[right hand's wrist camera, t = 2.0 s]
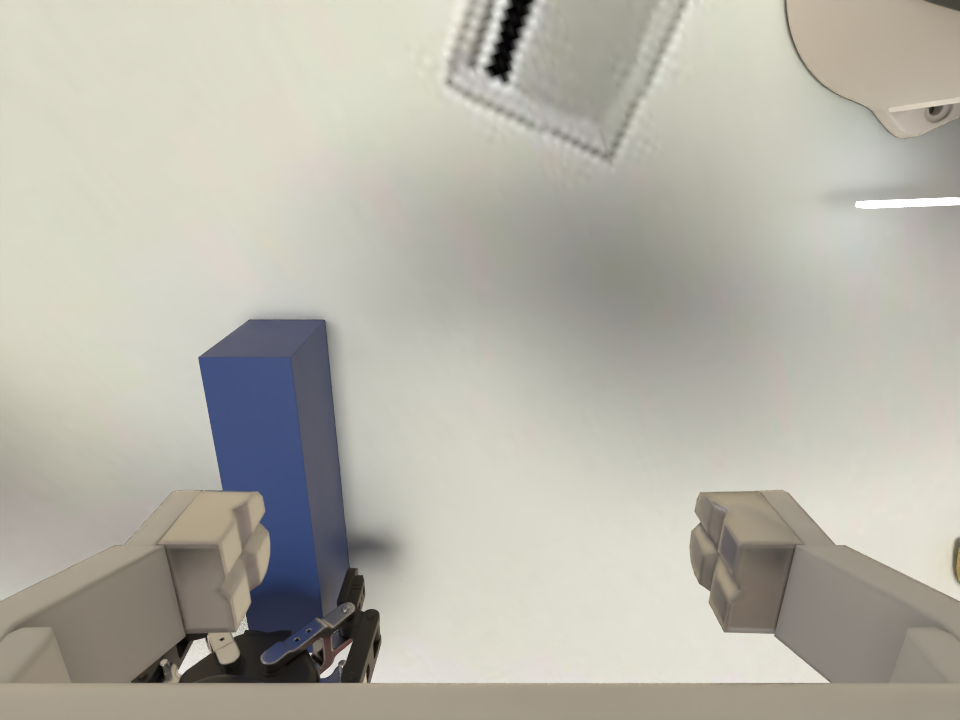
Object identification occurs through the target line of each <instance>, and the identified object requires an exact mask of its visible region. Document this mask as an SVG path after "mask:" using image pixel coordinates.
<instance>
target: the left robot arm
mask: <svg viewBox="0 0 960 720" xmlns="http://www.w3.org/2000/svg"><path fill="white" fill-rule="evenodd" d="M364 598H365V585H364V578H363V575H358V569H357V568H348V569H347V571H346V575H345V578H344V581H343V584H342V587H341V590H340V593H339V596H338V599H337V608H335V609H334V610H333V611H331V612H330V613H329V614H327V615H326V616H325V617H323V618H322V619H319V618H318V617H316V618H314V619H312V620H311V621H310V622H308V623H307V624H305V625H304V626H303V627H301V628H300V629H299V630H297V631H296V632H295V633H293V632H292V630H280V631H275V632H269V633H266V632H262V631H258V630H245V632H244V634H241V635H238V636H236V637H234V638H233V636H232V633H231V632H227V633H192V634H185V635H186V636H185V637H184V638H183V639H182V640H181V641H179V642H178V643H177V644H176V645H175V646H173V647H172V648H171V649H170V650H169V651H167V652H166V653H165V654H164V655H162V656H161V657H160V658H159V659H158V660H156V661H155V662H154V663H153V664H152V665H150V666H149V667H148V668H147V669H146V670H144V671H143V672H142V673H141V674H139V675H138V676H137V677H136V678H135V679H133V680H132V681H131V683H370V682H371V678H372V674H373V671H374V667H375V664H376V660H377V657H378V653H379V649H380V646H381V635H380V626H379V622H380V616H379V612H378V611H377V610H375V609H369V610H366V611H365V612H363V611H361V609H362V606H363V602H364ZM338 629H339V630H338ZM337 630H338V631H337ZM335 631H336V632H335ZM334 632H335V633H334ZM333 633H334V634H333ZM202 638H205V641H206V644H207V646H208V649H209V652H210V654H209V655H208V656H206V657H205V658H204V659H202V660H201V661H199V662H198V663H197V664H195V665H194V666H192V667H191V668H189V669H188V670H187V671H186V672H185V673H184V674H183V675H182V676H181V677H179V673H178V670H179V668H180V666H181V664H182V662H183V660H184V658H185V656H186V654H187V652H188V650H189V648H190V646H191V645H192V643H193V640H198V639H202ZM352 641H353V643H352V646H351V648H350V651H349V654H348V657H347V660H341V661H340V662H339V663H338V666H337V667H336V668H335V670H334V672H333V673H332V674H331V675H330V676H329V677H326V678H320V674H321V673H323V672H324V671H325V670H326V669H327V668H329V667H330V666H331V664H332V663H333V661H334V658H335V656H336V655H337V654H338V653H339V652H340V651H342V650H343V649H344V648H345V647H346V646H348V645H349V644H350V643H351V642H352ZM311 644H312V646H313V653H312V655H311V656H310V654H309V652H308V651H307V649H306V648H308V647H309V646H310V645H311Z"/></svg>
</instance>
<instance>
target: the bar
mask: <svg viewBox="0 0 960 720" xmlns="http://www.w3.org/2000/svg"><path fill="white" fill-rule="evenodd" d="M198 359H199V364H200V369H201V375H202V380H203V386H204V391H205V396H206V402H207V407H208V413H209V418H210V423H211V429H212V434H213V440H214V445H215V450H216V456H217V461H218V466H219V472H220V477H221V483H222V488H223V491H258V492H259V493H260V494H261V495H262V497H263V502H264V507H265V513H264V515H263V516H262V518H261V520H260V523H261V524H262V525H263V526H264V527H265V528H266V529H267V530H268V531H269V537H270V558H269V563H268V567H267V572H266V574H265V576H264V578H263V580H262V582H261V584H260V585H258V586H257V587H255V588H254V589H252V590H251V591H249V592H250V598H251V604H250V606H249V608H248V610H247V612H246V617H247V623H248V628H249V630H258V631H262V632H266V633H269V632H275V631H280V630H292V632H293V633H295V632H296V631H297V630H299V629H300V628H301V627H303V626H304V625H305V624H307V623H308V622H310V621H311V620H312V619H314V618H316V617H318V618H319V619H322V618H323V617H325V616H326V615H327V614H329V613H330V612H331V611H333V610H334V609H335V608H337V599H338V596H339V593H340V590H341V587H342V584H343V581H344V578H345V575H346V571H347V569H348V568H349V561H348V550H347V540H346V530H345V520H344V510H343V500H342V490H341V480H340V470H339V460H338V449H337V439H336V429H335V419H334V409H333V399H332V389H331V379H330V369H329V358H328V348H327V338H326V328H325V320H248V321H247V322H246V323H244V324H243V325H242V326H240V327H239V328H238V329H236V330H235V331H233V332H232V333H231V334H229V335H228V336H227V337H225V338H224V339H223V340H221V341H220V342H219V343H217V344H216V345H214V346H213V347H212V348H210V349H209V350H208V351H206V352H205V353H204V354H202V355H201V356H200V357H199V358H198ZM306 649H307V651H308V652H309V653H313V646H312V644H311V645H310V646H309V647H308V648H306Z"/></svg>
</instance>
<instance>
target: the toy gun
mask: <svg viewBox="0 0 960 720" xmlns="http://www.w3.org/2000/svg"><path fill="white" fill-rule="evenodd" d="M956 570H957V576H958V580H959V582H960V547H959V551H958V557H957V565H956Z"/></svg>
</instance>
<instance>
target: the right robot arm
mask: <svg viewBox="0 0 960 720" xmlns="http://www.w3.org/2000/svg"><path fill="white" fill-rule="evenodd" d="M786 6H787V16H788V22H789V27H790V31H791V35H792V38H793V41H794V44H795V46H796V48H797V51H798V53H799V55H800V57H801V59H802V60H803V62H804V63H805V65H806V66H807V68H808V69H809V70H810V72H811V73H812V74H813V75H814V76H815V77H816V78H817V79H818V80H819V81H820V82H821V83H822V84H823V85H824V86H826V87H827V88H828V89H830V90H832V91H833V92H835V93H836V94H838V95H840V96H842V97H845V98H847V99H850V100H852V101H855V102H857V103H860V104H862V105H864V106H866V107H867V108H869V109H870V110H872V111H873V113H874V114H875V115H876V117H877V118H878V119H879V121H880V122H881V123H882V124H883V126H884V127H885V128H886V129H887V130H888V131H889V132H890V133H891V134H893V135H894V136H896V137H899V138H909V137H914V136H919V135H922V134H924V133H927V132H929V131H931V130H933V129H935V128H937V127H940V126H942V125H944V124H946V123H948V122H950V121H952V120H955V119H957V118H959V117H960V0H786ZM933 106H934V110H933V112H932V113H931V114H930V113H929V107H933ZM936 205H960V198H936V199H910V200H885V201H860V202H856V207H861V208H885V207H911V206H936ZM264 513H265V507H264V502H263V497H262V495H261V494H260V493H259V492H258V491H212V490H206V491H203V490H179V491H175V492H172V493H171V494H170V495H169V496H168V497H167V498H166V499H165V501H164V502H163V503H162V504H161V505H160V506H159V507H158V508H157V509H156V510H155V512H154V513H153V514H152V515H151V516H150V517H149V518H148V519H147V520H146V521H145V523H144V524H143V525H142V526H141V527H140V528H139V529H138V530H137V531H136V532H135V534H134V535H133V536H132V537H131V538H130V539H129V540H128V541H127V542H126V543H125V545H115V546H113V547H110V548H108V549H106V550H104V551H102V552H100V553H98V554H96V555H94V556H92V557H90V558H88V559H86V560H84V561H82V562H80V563H78V564H76V565H74V566H72V567H70V568H67V569H65V570H63V571H61V572H59V573H57V574H55V575H53V576H51V577H49V578H47V579H45V580H43V581H41V582H39V583H37V584H35V585H33V586H31V587H29V588H26V589H24V590H22V591H20V592H18V593H16V594H14V595H12V596H10V597H8V598H6V599H4V600H2V601H0V720H960V601H958V600H956V599H954V598H952V597H950V596H948V595H946V594H943V593H941V592H939V591H937V590H935V589H933V588H931V587H929V586H927V585H925V584H923V583H921V582H919V581H917V580H915V579H913V578H911V577H909V576H907V575H905V574H903V573H901V572H899V571H896V570H894V569H892V568H890V567H888V566H886V565H884V564H882V563H880V562H878V561H876V560H874V559H872V558H870V557H868V556H866V555H864V554H862V553H860V552H858V551H856V550H854V549H852V548H849V547H847V546H845V545H835V543H834V542H833V541H832V540H831V539H830V538H829V537H828V536H827V535H826V534H825V532H824V531H823V530H822V529H821V528H820V527H819V526H818V525H817V524H816V523H815V521H814V520H813V519H812V518H811V517H810V516H809V515H808V514H807V513H806V512H805V510H804V509H803V508H802V507H801V506H800V505H799V504H798V503H797V502H796V501H795V499H794V498H793V497H792V496H791V495H790V494H789V493H788V492H785V491H783V490H763V491H739V492H700V494H699V496H698V498H697V500H696V506H695V513H696V515H697V516H698V518H699V520H700V523H699V524H698V525H697V526H696V527H695V528H694V529H693V530H692V531H691V539H690V558H691V564H692V568H693V571H694V574H695V576H696V578H697V580H698V582H699V584H700V585H702V586H703V587H705V588H706V589H708V590H709V591H711V592H710V598H709V604H710V606H711V608H712V610H713V612H714V614H715V616H716V618H717V620H718V621H719V623H720V625H721V627H722V629H723V631H724V632H732V633H768V634H775V635H774V636H775V637H776V638H777V639H778V640H780V641H781V642H782V643H783V644H784V645H786V646H787V647H788V648H789V649H791V650H792V651H793V652H794V653H795V654H797V655H798V656H799V657H800V658H801V659H803V660H804V661H805V662H806V663H807V664H809V665H810V666H811V667H812V668H813V669H815V670H816V671H817V672H818V673H819V674H821V675H822V676H823V677H824V678H825V679H827V680H828V681H829V682H830V683H130V682H131V681H132V680H133V679H135V678H136V677H137V676H138V675H139V674H141V673H142V672H143V671H144V670H146V669H147V668H148V667H149V666H150V665H152V664H153V663H154V662H155V661H156V660H158V659H159V658H160V657H161V656H162V655H164V654H165V653H166V652H167V651H169V650H170V649H171V648H172V647H173V646H175V645H176V644H177V643H178V642H179V641H181V640H182V639H183V638H184V637H185V636H186V635H185V634H192V633H227V632H236V631H237V629H238V627H239V625H240V624H241V622H242V620H243V618H244V616H245V614H246V612H247V610H248V608H249V606H250V604H251V598H250V592H249V591H251V590H252V589H254V588H255V587H257V586H258V585H260V584H261V582H262V580H263V578H264V576H265V574H266V572H267V567H268V563H269V558H270V537H269V531H268V530H267V529H266V528H265V527H264V526H263V525H262V524H261V523H260V520H261V518H262V516H263V515H264Z"/></svg>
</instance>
